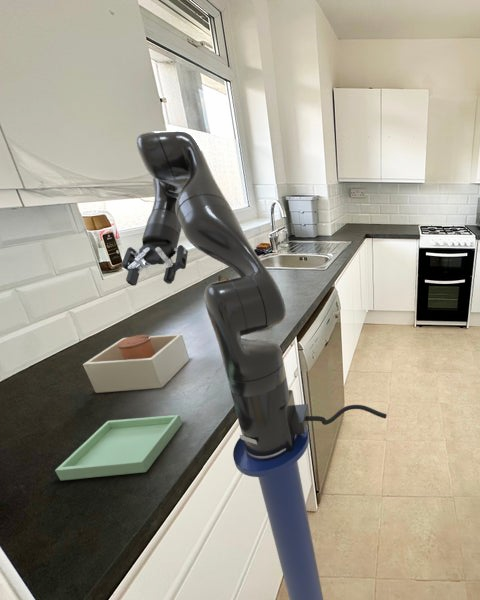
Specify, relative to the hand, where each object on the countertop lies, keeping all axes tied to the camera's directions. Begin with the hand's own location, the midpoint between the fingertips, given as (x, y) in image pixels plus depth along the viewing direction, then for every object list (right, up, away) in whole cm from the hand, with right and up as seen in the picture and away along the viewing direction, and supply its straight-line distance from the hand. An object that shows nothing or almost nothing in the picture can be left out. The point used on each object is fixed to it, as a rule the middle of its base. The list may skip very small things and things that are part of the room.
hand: (149, 283), depth 79 cm
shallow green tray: (+14, -31, -22) cm, 41 cm away
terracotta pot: (-1, -22, 0) cm, 22 cm away
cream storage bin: (-1, -23, 0) cm, 23 cm away
